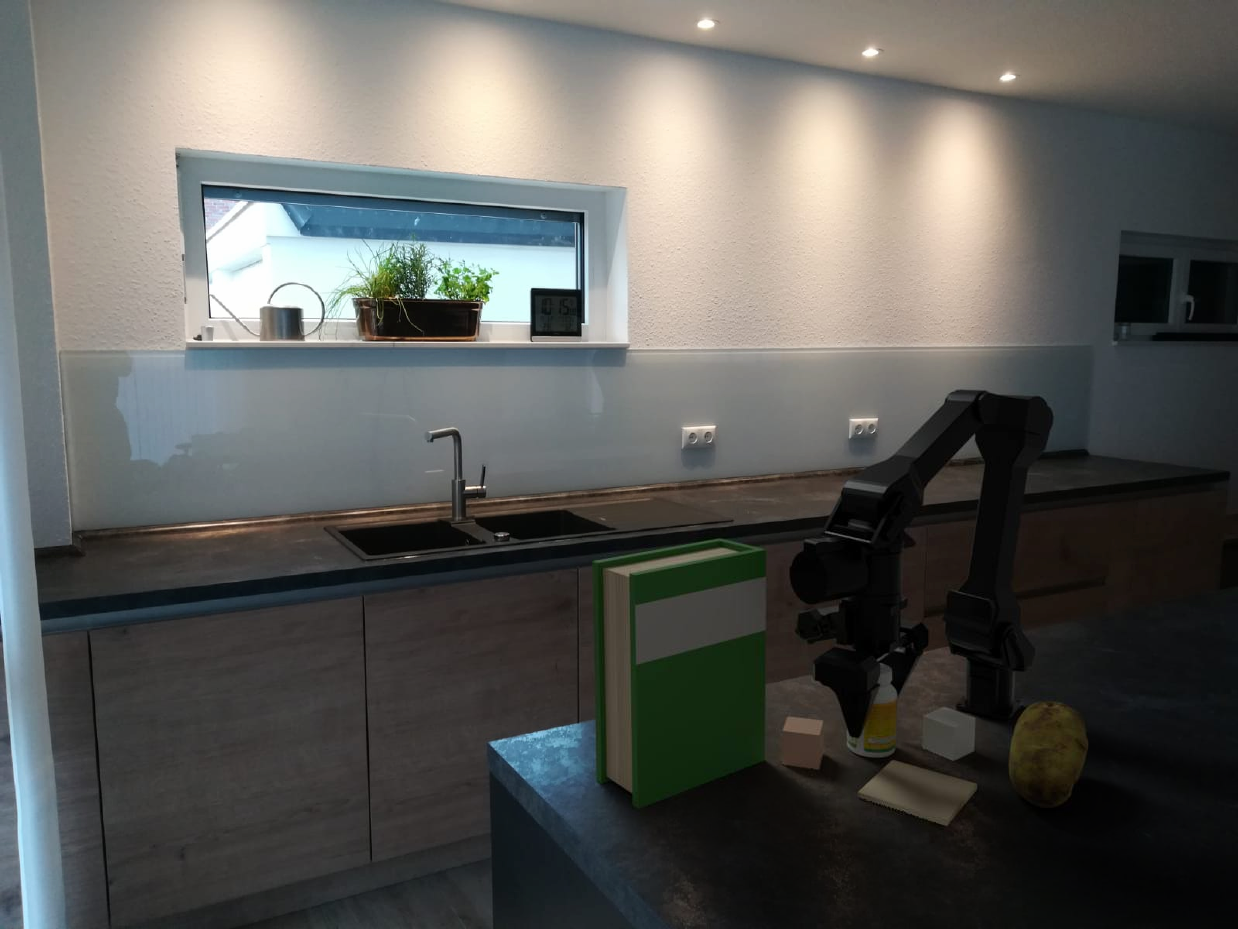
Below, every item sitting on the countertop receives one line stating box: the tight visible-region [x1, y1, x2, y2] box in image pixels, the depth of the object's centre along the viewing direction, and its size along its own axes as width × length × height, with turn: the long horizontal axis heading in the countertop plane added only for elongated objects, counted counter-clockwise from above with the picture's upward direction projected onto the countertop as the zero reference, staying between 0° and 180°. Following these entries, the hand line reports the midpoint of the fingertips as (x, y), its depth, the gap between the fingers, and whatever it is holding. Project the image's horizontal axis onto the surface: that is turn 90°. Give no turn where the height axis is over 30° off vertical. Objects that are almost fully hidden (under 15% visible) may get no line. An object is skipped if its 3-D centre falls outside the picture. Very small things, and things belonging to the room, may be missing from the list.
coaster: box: [857, 759, 978, 827], centre depth 91 cm, size 9×9×1 cm
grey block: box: [921, 706, 976, 762], centre depth 101 cm, size 4×4×4 cm
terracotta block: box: [781, 716, 824, 770], centre depth 99 cm, size 4×4×4 cm
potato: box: [1008, 700, 1089, 809], centre depth 92 cm, size 8×13×8 cm, turn 132°
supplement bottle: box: [846, 663, 898, 759], centre depth 101 cm, size 5×5×10 cm
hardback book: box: [592, 538, 767, 810], centre depth 96 cm, size 18×7×24 cm, turn 125°
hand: (871, 723), depth 101 cm, fingers open, 9 cm apart
